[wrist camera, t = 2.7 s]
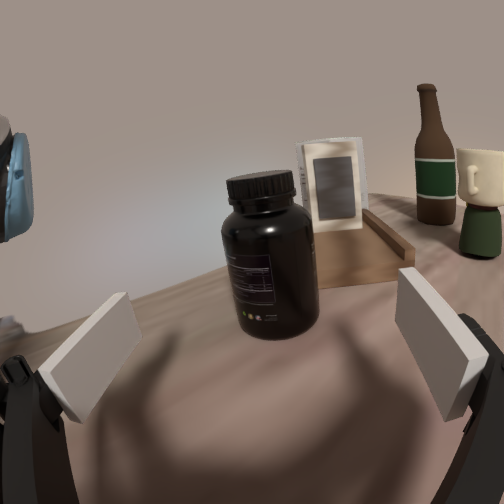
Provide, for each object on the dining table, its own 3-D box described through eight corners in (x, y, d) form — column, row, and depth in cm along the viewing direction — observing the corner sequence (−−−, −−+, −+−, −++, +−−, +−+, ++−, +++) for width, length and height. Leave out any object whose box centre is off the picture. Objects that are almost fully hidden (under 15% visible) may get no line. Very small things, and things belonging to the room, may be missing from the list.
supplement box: (335, 212, 59) (328, 139, 54) (370, 218, 51) (363, 136, 47) (302, 222, 55) (293, 141, 50) (338, 229, 47) (329, 137, 43)
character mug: (471, 238, 34) (472, 148, 30) (511, 249, 28) (515, 152, 24) (440, 258, 30) (440, 148, 26) (489, 274, 24) (495, 151, 20)
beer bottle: (461, 226, 40) (451, 81, 32) (420, 226, 43) (408, 80, 35) (450, 215, 47) (440, 89, 39) (413, 215, 50) (402, 88, 42)
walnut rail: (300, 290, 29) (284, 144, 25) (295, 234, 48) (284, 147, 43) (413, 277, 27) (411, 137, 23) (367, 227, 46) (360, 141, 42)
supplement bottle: (268, 295, 29) (252, 171, 25) (332, 307, 25) (323, 166, 21) (221, 330, 24) (193, 184, 20) (292, 353, 20) (273, 177, 16)
